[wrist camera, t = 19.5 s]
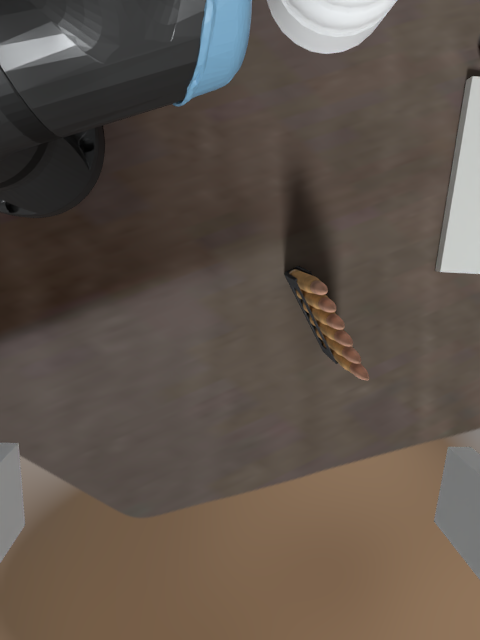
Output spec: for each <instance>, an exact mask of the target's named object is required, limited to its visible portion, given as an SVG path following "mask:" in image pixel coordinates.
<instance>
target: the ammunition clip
mask: <svg viewBox="0 0 480 640" xmlns="http://www.w3.org/2000/svg"><path fill="white" fill-rule="evenodd" d="M285 277H286V279H287V281H288V283H289V285H290V287H291V289H292V291H293V293H294V295H295V297H296V299H297V301H298V303H299V305H300V307H301V309H302V311H303V313H304V315H305V317H306V319H307V321H308V323H309V325H310V327H311V329H312V331H313V333H314V335H315V337H316V339H317V341H318V343H319V345H320V347H321V349H322V350H323V352H324V353H325V354H326V355H327V356H328V357H329V358H330V359H331V360H332V361H334V362H335V363H336V364H338V363H339V364H340V365H341V366H342V367H343V368H344V369H346V370H348V371H350V372H351V373H353V374H354V375H355V376H356V377H358V378H360V379H363V380H369V374H368V372H367V370H366V369H365V368H364V366H362V365H361V357H360V355H359V354H358V352H357V351H356V350H355V349H354V348H353V347H352V345H353V341H352V339H351V337H350V336H349V334H347V333H346V332H345V331H344V330H343V329H344V328H345V324H344V322H343V320H342V319H341V318H340V317H339V316H338V315H337V314H335V311H336V305H335V303H334V302H333V301H332V300H331V299H329V298H328V297H327V295H325V294H326V293H327V292H328V288H327V286H326V285H325V284H324V283H323V282H321V281H320V280H319V279H318V278H317V277H315V276H313V275H312V273H311V271H308V270H306V269H304V268H302V267H299V266H297V267H295V268H293V269H291V270H289V271H287V272H286V273H285Z"/></svg>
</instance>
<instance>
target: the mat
mask: <svg viewBox="0 0 480 640" xmlns="http://www.w3.org/2000/svg"><path fill="white" fill-rule="evenodd" d="M435 271H437V272H452V273H472V274H480V77H478V76H472V77H470V78H469V79H467V80H466V85H465V91H464V97H463V103H462V109H461V115H460V121H459V127H458V134H457V140H456V146H455V152H454V158H453V164H452V170H451V176H450V183H449V189H448V195H447V201H446V207H445V213H444V219H443V225H442V232H441V238H440V244H439V250H438V256H437V262H436V268H435Z"/></svg>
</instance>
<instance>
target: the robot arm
mask: <svg viewBox="0 0 480 640" xmlns="http://www.w3.org/2000/svg"><path fill="white" fill-rule="evenodd" d="M251 11H252V0H0V212H1V213H5V214H8V215H13V216H20V217H29V218H43V217H50V216H54V215H58V214H61V213H63V212H66V211H68V210H69V209H71V208H73V207H74V206H76V205H77V204H79V203H80V202H81V201H82V200H83V199H84V198H85V197H86V196H87V195H88V194H89V192H90V191H91V190H92V188H93V187H94V185H95V183H96V182H97V179H98V177H99V175H100V172H101V169H102V165H103V160H104V150H105V143H104V134H103V128H102V125H105V124H109V123H112V122H115V121H118V120H122V119H125V118H128V117H131V116H135V115H138V114H141V113H144V112H148V111H151V110H154V109H157V108H161V107H164V106H167V105H170V104H173V105H174V106H182V105H184V104H185V103H187V102H188V101H189V100H190V99H191V98H193V97H196V96H199V95H202V94H204V93H207V92H210V91H213V90H215V89H218V88H221V87H223V86H225V85H226V84H227V83H229V82H230V81H231V80H232V78H233V76H234V75H235V73H237V72H238V70H239V69H240V67H241V65H242V62H243V59H244V56H245V53H246V49H247V44H248V39H249V32H250V23H251ZM434 522H435V523H436V524H437V526H438V527H439V528H440V529H441V531H442V532H443V533H444V535H445V536H446V537H447V538H448V540H449V541H450V542H451V544H452V545H453V546H454V547H455V549H456V550H457V551H458V552H459V554H460V555H461V556H462V557H463V559H464V560H465V561H466V563H467V564H468V565H469V567H470V568H471V569H472V570H473V572H474V573H475V574H476V575H477V577H478V578H479V579H480V454H479V453H477V452H476V451H475V450H474V449H472V448H471V447H448V451H447V456H446V461H445V466H444V471H443V477H442V482H441V487H440V493H439V498H438V504H437V508H436V514H435V520H434ZM24 526H25V519H24V505H23V493H22V481H21V467H20V455H19V443H0V562H1V561H2V559H3V558H4V556H5V555H6V553H7V552H8V550H9V549H10V547H11V546H12V544H13V543H14V541H15V539H16V538H17V536H18V535H19V533H20V532H21V530H22V529H23V527H24Z"/></svg>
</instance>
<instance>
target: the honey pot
mask: <svg viewBox="0 0 480 640" xmlns="http://www.w3.org/2000/svg"><path fill="white" fill-rule="evenodd" d="M396 1H397V0H267V3H268V5H269V8H270V11H271V14H272V16H273V18H274V20H275V21H276V23H277V24H278V26H279V27H280V29H281V30H282V32H283V33H284V34H285V35H287V36H288V37H289V38H290V39H291V40H292V41H293V42H294V43H295V44H297V45H299V46H301V47H303V48H305V49H307V50H309V51H312V52H318V53H324V54H330V53H338V52H343V51H346V50H348V49H350V48H352V47H355V46H357V45H358V44H360V43H361V42H362V41H363V40H364V39H366V38H367V37H368V36H369V35H370V34H372V32H373V31H374V30H375V28H376V27H377V26H378V25H379V23H380V22H381V21H382V19H383V18H384V17H385V16H386V14H387V13H388V12H389V10H390V9H391V8H392V6H393V5H394V4H395V3H396Z"/></svg>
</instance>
